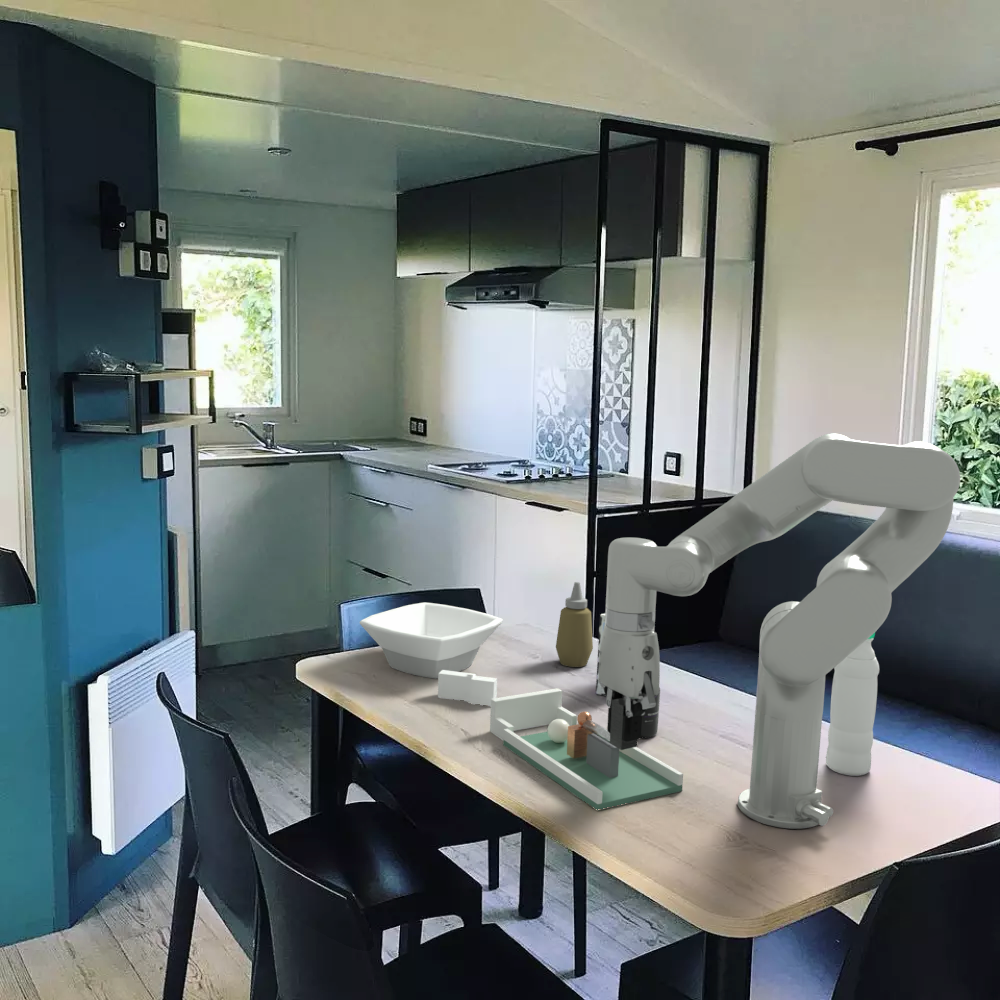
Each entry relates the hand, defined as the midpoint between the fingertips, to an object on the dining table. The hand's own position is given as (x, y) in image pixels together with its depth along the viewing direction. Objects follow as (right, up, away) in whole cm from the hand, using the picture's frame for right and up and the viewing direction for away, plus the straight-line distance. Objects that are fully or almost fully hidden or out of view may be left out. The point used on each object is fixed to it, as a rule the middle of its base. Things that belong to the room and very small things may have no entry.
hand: (623, 734), depth 158 cm
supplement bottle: (+6, -6, +25) cm, 26 cm away
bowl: (-34, +1, +60) cm, 69 cm away
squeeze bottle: (-3, 0, +65) cm, 65 cm away
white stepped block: (-25, -3, +39) cm, 46 cm away
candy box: (+6, -2, +49) cm, 49 cm away
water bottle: (+39, -9, +12) cm, 41 cm away
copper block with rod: (-3, -6, +5) cm, 9 cm away
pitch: (-6, -7, +12) cm, 15 cm away
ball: (-9, -3, +16) cm, 19 cm away
